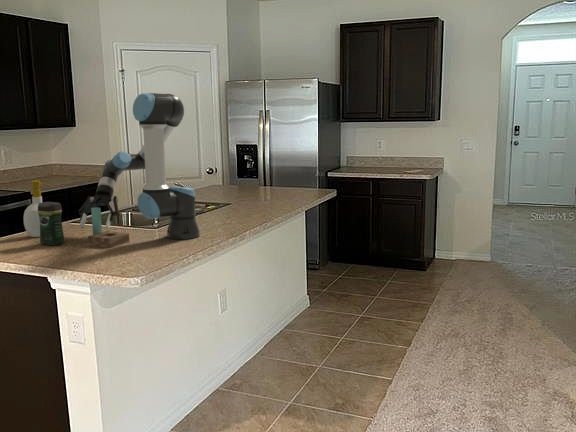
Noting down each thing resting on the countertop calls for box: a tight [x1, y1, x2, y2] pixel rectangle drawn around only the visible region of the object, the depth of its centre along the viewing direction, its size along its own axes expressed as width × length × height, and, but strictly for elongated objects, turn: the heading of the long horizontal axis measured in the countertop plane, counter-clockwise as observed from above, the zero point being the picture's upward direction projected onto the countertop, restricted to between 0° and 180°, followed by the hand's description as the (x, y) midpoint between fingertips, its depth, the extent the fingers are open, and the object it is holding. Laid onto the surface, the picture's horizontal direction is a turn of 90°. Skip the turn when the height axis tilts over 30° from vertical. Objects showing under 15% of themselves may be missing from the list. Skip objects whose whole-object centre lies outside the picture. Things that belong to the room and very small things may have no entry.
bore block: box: [87, 230, 130, 249], centre depth 247 cm, size 12×12×4 cm
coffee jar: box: [38, 201, 65, 246], centre depth 246 cm, size 10×8×19 cm
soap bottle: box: [23, 180, 44, 238], centre depth 261 cm, size 14×9×26 cm, turn 146°
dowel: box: [90, 206, 103, 235], centre depth 257 cm, size 4×4×14 cm
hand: (94, 226), depth 255 cm, fingers open, 11 cm apart
